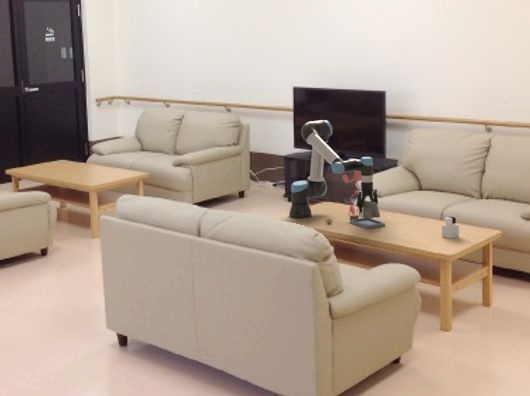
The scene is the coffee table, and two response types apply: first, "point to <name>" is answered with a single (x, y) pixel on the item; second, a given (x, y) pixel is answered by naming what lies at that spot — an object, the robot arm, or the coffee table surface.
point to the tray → (367, 223)
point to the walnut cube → (354, 217)
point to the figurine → (357, 175)
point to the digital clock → (370, 210)
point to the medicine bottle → (450, 228)
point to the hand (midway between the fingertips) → (367, 216)
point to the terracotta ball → (328, 220)
